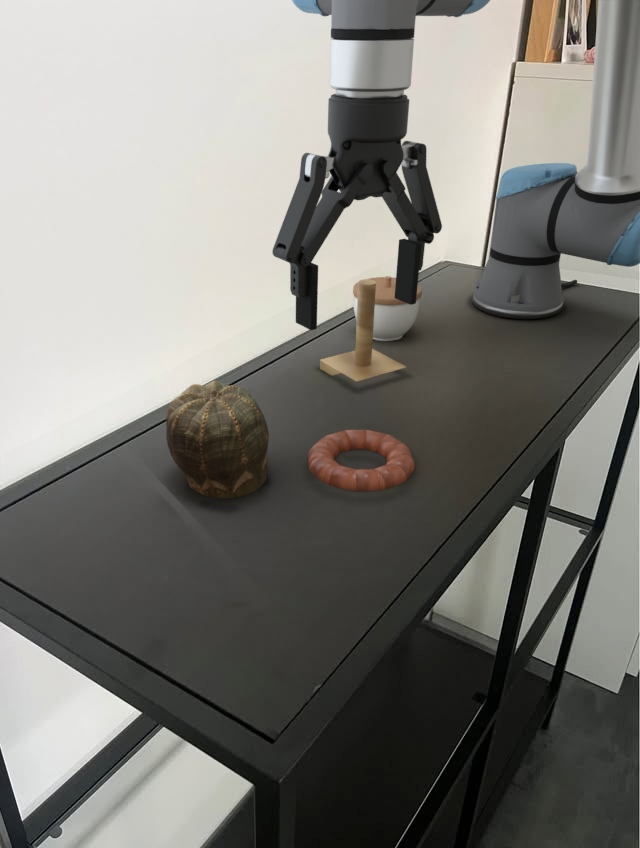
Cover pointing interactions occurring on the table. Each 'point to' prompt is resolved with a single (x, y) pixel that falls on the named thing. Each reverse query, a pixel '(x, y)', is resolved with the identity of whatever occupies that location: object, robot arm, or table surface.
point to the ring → (361, 479)
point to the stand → (362, 343)
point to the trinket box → (390, 310)
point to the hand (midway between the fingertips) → (357, 313)
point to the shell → (218, 439)
